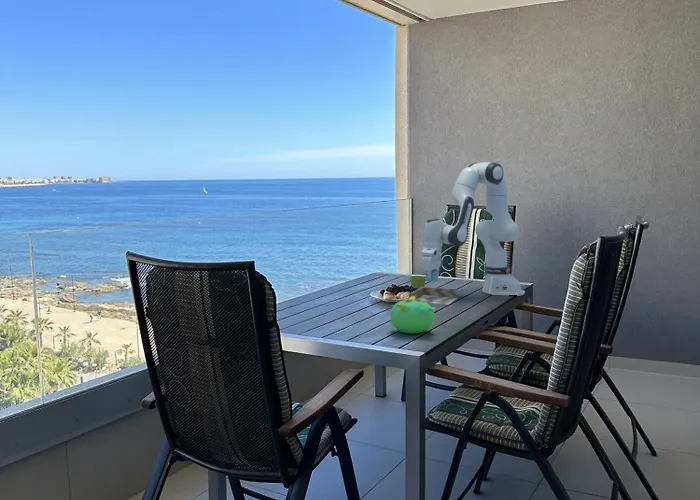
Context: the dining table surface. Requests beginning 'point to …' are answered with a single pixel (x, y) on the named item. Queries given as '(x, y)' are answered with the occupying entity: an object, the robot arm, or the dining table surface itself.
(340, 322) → the dining table surface
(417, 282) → the plant pot
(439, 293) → the arena
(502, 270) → the robot arm
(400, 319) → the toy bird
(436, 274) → the cube
